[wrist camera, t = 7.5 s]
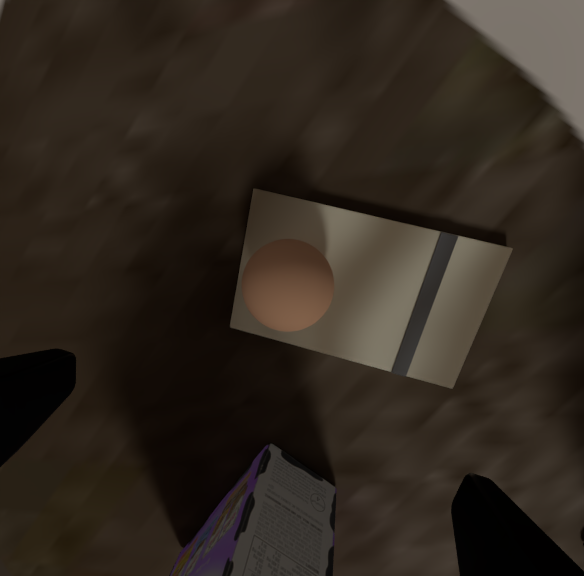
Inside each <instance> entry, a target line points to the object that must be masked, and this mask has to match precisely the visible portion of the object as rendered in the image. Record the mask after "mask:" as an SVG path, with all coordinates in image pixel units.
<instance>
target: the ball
mask: <svg viewBox="0 0 584 576" xmlns="http://www.w3.org/2000/svg"><path fill="white" fill-rule="evenodd" d="M242 294H243V298H244V302H245V304H246V306H247V308H248V310H249V311H250V313H251V314H252V315H253V316H254V317H255V318H256V319H257V320H258V321H259V322H260V323H262V324H263V325H265V326H267V327H269V328H271V329H274V330H278V331H284V332H292V331H299V330H302V329H305V328H307V327H309V326H311V325H313V324H314V323H316V322H317V321H318V320H319V319H320V318H321V317H322V316H323V315H324V314H325V312H326V311H327V310H328V308H329V306H330V304H331V301H332V298H333V294H334V277H333V272H332V269H331V267H330V265H329V263H328V261H327V260H326V258H325V257H324V255H323V254H322V253H321V252H320V251H319V250H317V249H316V248H315V247H313V246H312V245H310V244H308V243H306V242H303V241H300V240H295V239H280V240H276V241H273V242H270V243H268V244H266V245H264V246H262V247H261V248H260V249H258V250H257V251H256V252H255V253H254V254H253V255H252V257H251V258H250V259H249V261H248V263H247V264H246V267H245V269H244V272H243V276H242Z"/></svg>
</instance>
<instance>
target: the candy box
mask: <svg viewBox="0 0 584 576" xmlns="http://www.w3.org/2000/svg"><path fill="white" fill-rule="evenodd" d="M335 508H336V488H335V487H334V486H333V485H331V484H330V483H329V482H327V481H326V480H324V479H323V478H322V477H320V476H319V475H317V474H316V473H315V472H313V471H311V470H310V469H308V468H307V467H305V466H304V465H302V464H301V463H299V462H298V461H297V460H295V459H294V458H293V457H291V456H290V455H288V454H287V453H285V452H284V451H283V450H281V449H280V448H278V447H277V446H275V445H274V444H271V443H270V444H269V445H266V446H265V447H264V449H263V450H262V451H261V452H260V453H259V454H258V456H257V457H256V458H255V459H254V461H253V462H252V463H251V464H250V466H249V467H248V468H247V470H246V471H245V472H244V474H243V475H242V476H241V477H240V478H239V479H238V481H237V482H236V483H235V485H234V486H233V487H232V489H231V490H230V491H229V492H228V494H227V495H226V496H225V497H224V498H223V500H222V501H221V502H220V503H219V505H218V506H217V507H216V509H215V510H214V511H213V513H212V514H211V515H210V516H209V518H208V519H207V520H206V521H205V523H204V524H203V525H202V527H201V528H200V529H199V530H198V532H197V533H196V534H195V536H194V537H193V538H192V539H191V540H190V541H189V543H188V544H187V545H186V546H185V548H184V549H183V550H182V551H181V552H180V554H179V556H178V559H177V561H176V563H175V565H174V567H173V569H172V571H171V573H170V575H169V576H333V556H334V529H335Z"/></svg>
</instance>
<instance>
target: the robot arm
mask: <svg viewBox="0 0 584 576" xmlns="http://www.w3.org/2000/svg"><path fill="white" fill-rule="evenodd" d="M75 384H76V357H75V355H74V354H73V353H71V352H68V351H65V350H62V349H50V350H44V351H39V352H33V353H28V354H22V355H17V356H11V357H6V358H0V467H1V466H2V465H3V464H4V463H5V462H6V461H7V460H8V459H9V458H10V457H11V456H13V455H14V454H15V453H16V452H17V451H18V450H19V449H20V448H21V447H22V446H23V444H24V443H25V442H26V441H27V440H28V439H29V438H30V437H31V436H32V435H33V434H34V433H35V432H36V431H37V430H38V429H39V427H40V426H41V425H42V424H43V423H44V422H45V421H46V420H47V419H48V418H49V417H50V416H51V414H52V413H53V412H54V411H55V410H56V409H57V408H58V407H59V406H60V405H61V404H62V403H63V402H64V400H65V399H66V398H67V397H68V396H69V395H70V394H71V392H72V391H73V389H74V387H75ZM451 514H452V522H453V529H454V536H455V543H456V550H457V558H458V565H459V572H460V576H584V571H583V570H582V569H581V568H580V567H579V566H578V565H577V564H576V563H575V562H574V561H573V560H572V559H571V558H570V557H569V556H568V555H567V554H566V553H565V552H564V551H563V550H562V549H561V548H560V547H559V546H558V545H557V544H556V543H555V542H554V541H553V540H552V539H551V538H550V537H549V536H547V535H546V534H545V533H544V532H543V531H542V530H541V529H540V528H539V527H538V526H537V525H536V524H535V523H534V522H533V521H532V520H531V519H530V518H529V517H528V516H527V515H526V514H525V513H524V512H523V511H522V510H521V509H520V508H519V507H518V506H517V505H516V504H515V503H514V502H513V501H512V500H511V499H510V498H509V497H508V496H507V495H506V494H505V493H504V492H503V491H502V490H501V489H500V488H499V487H498V486H497V485H496V484H495V483H494V482H493V481H492V480H490V479H489V478H486V477H483V476H480V475H476V474H473V473H469V474H467V475H466V476H465V477H464V479H463V481H462V483H461V485H460V487H459V489H458V491H457V493H456V495H455V497H454V499H453V502H452V508H451ZM583 545H584V543H583Z"/></svg>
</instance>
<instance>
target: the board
mask: <svg viewBox="0 0 584 576" xmlns="http://www.w3.org/2000/svg"><path fill="white" fill-rule="evenodd" d="M280 239H295V240H300V241H303V242H306V243H308V244H310V245H312V246H313V247H315V248H316V249H317V250H319V251H320V252H321V253H322V254H323V255H324V257H325V258H326V260H327V261H328V263H329V265H330V267H331V269H332V272H333V277H334V294H333V298H332V301H331V304H330V306H329V308H328V310H327V311H326V312H325V314H324V315H323V316H322V317H321V318H320V319H319V320H318V321H317V322H316V323H314V324H313V325H311V326H309V327H307V328H305V329H302V330H299V331H292V332H284V331H278V330H274V329H271V328H269V327H267V326H265V325H263V324H262V323H260V322H259V321H258V320H257V319H256V318H255V317H254V316H253V315H252V314H251V313H250V311H249V310H248V308H247V306H246V304H245V302H244V298H243V294H242V276H243V272H244V269H245V267H246V264H247V263H248V261H249V259H250V258H251V257H252V255H253V254H254V253H255V252H256V251H257V250H258V249H260V248H261V247H262V246H264V245H266V244H268V243H270V242H273V241H276V240H280ZM512 250H513V248H509V247H506V246H502V245H498V244H493V243H489V242H485V241H480V240H476V239H472V238H467V237H463V236H459V235H454V234H450V233H446V232H441V231H437V230H433V229H428V228H424V227H420V226H415V225H411V224H407V223H403V222H398V221H394V220H390V219H385V218H381V217H377V216H372V215H368V214H364V213H359V212H355V211H351V210H346V209H342V208H338V207H333V206H329V205H325V204H320V203H316V202H312V201H307V200H303V199H299V198H295V197H290V196H286V195H282V194H277V193H273V192H269V191H264V190H260V189H253V194H252V200H251V206H250V212H249V217H248V223H247V229H246V235H245V241H244V247H243V252H242V258H241V264H240V270H239V276H238V282H237V287H236V293H235V299H234V305H233V311H232V317H231V322H230V328H234V329H238V330H241V331H245V332H249V333H252V334H256V335H259V336H263V337H267V338H270V339H274V340H278V341H281V342H285V343H289V344H292V345H296V346H299V347H303V348H307V349H310V350H314V351H318V352H321V353H325V354H328V355H332V356H336V357H339V358H343V359H347V360H350V361H354V362H357V363H361V364H365V365H368V366H372V367H376V368H379V369H383V370H387V371H390V372H392V373H394V374H398V375H402V376H405V377H406V376H408V377H412V378H416V379H419V380H423V381H426V382H430V383H434V384H437V385H441V386H445V387H448V388H452V389H453V387H454V384H455V382H456V380H457V377H458V375H459V373H460V370H461V368H462V366H463V363H464V361H465V359H466V356H467V354H468V352H469V349H470V347H471V345H472V342H473V340H474V338H475V335H476V333H477V331H478V329H479V326H480V324H481V322H482V319H483V317H484V315H485V312H486V310H487V308H488V305H489V303H490V301H491V298H492V296H493V294H494V291H495V289H496V287H497V284H498V282H499V280H500V277H501V275H502V273H503V270H504V268H505V266H506V263H507V261H508V259H509V256H510V254H511V252H512Z"/></svg>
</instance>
